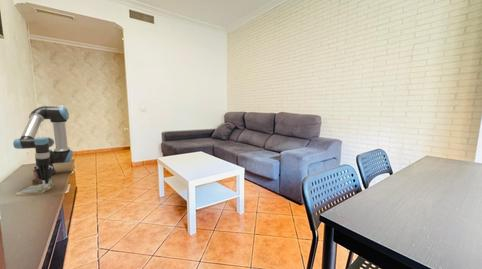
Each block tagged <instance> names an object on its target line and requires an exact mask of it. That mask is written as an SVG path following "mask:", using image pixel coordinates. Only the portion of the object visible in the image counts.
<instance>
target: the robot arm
mask: <svg viewBox="0 0 482 269" xmlns="http://www.w3.org/2000/svg"><path fill="white" fill-rule="evenodd" d="M28 119H29V120H28V121H27V123H26V126H25V128H24V130H23V132H22V134H21V137H20V138H15V139H14V140H13V143H12V144H13V147H14V149H18V150H20V149H21V150H25V149H26V150H27V149H35V153H34V154H35V156H34V158H35V166H33V169H35V170H36V173H37V176H38V179H41V180H42V184H43V188H47V187H48V183H49V182H48V180H49V179H52V176H54V175H56V174H57V171H56V168H55V167H54V164H65V163H67V164H68V163H71V162H72V158H73V153H74V152H73V150H71V148H70V147H69V146H68V139H67V138H68V137H67V129H66V128H67V127H66V123H67V122H68V120H69V119H70V114H69V111H68V109H67V107H65V106H47V105H42V106H40V107H37V108H35V109H33V111H31V113H30V114H29V116H28ZM44 120H50V122H51V123H52V127H53V134H54V135H53V136H54V138H52V137H45V136H44V137H43V136H41V137H36V135H37V133H38V131H39V128H40V126H41V124H42V123H43V121H44ZM54 144H55V145H54ZM52 146H55V149H53V150H52V149H50V148H51V147H52ZM52 170H53V172H52Z"/></svg>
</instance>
